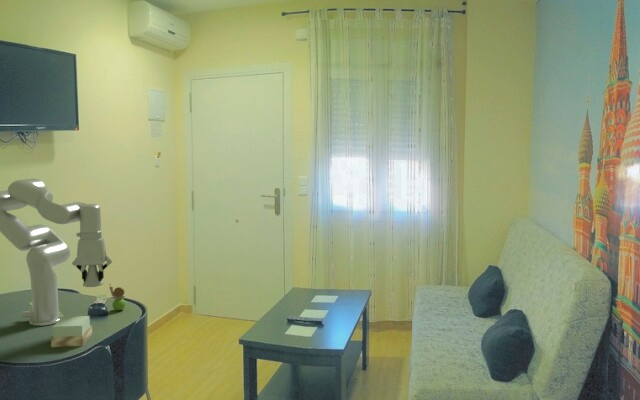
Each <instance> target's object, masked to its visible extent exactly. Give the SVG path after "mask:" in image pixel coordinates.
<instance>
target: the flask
mask: <svg viewBox="0 0 640 400" xmlns="http://www.w3.org/2000/svg"><path fill="white" fill-rule="evenodd" d="M98 272H99V269H98V265H88V266H87V275H86V281H85V282H84V281H83V284H82V286H83V287H85V288H96V287H99V286H102V285H104V281H103V279H102V280H101V281H99V277H98Z"/></svg>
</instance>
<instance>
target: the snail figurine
mask: <svg viewBox="0 0 640 400" xmlns="http://www.w3.org/2000/svg"><path fill="white" fill-rule="evenodd" d="M108 285H109V290H110V293H111V296H112V297H113V298H114V300H113V301H112V308H113V309H114V310H115V311H118V312H119V311H123V310H124V309H125V307H126V301H125V299H124V298H125V290H124V288H122V287H121V286H120V287H119V286H118V287H116V288H114V287H113V286H112V284H111V283H109V284H108Z"/></svg>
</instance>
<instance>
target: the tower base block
mask: <svg viewBox="0 0 640 400" xmlns="http://www.w3.org/2000/svg"><path fill="white" fill-rule="evenodd" d="M92 335H93V325H91V324H90V326H89V328H88V329H87V330H86V332H85V333H84V334H83V336H73V337H53V335H52V336H51V337H50V343H51V344H50V346H51V348H58V347H59V348H62V347H63V348H64V347H84V345H85V344H86V343H87V342H88V341H89V339H90V338H91V337H92Z"/></svg>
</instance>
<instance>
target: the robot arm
mask: <svg viewBox="0 0 640 400" xmlns="http://www.w3.org/2000/svg"><path fill="white" fill-rule="evenodd" d="M53 199H54V196H53V193H52V191H51V190H48V189H47V187H46V184H45V183H44V182H43V181H42V180H41V179H39V178H26V179H18V180H15V181H12V182H11V183H10V184H9V185H8V187H7V190H1V191H0V233H1V235H2V236H3V237H5V238H6V239H7V240H8V242H10V243H11V244H12V245H13V246H14V248H16V249H17V250H19V251H21V252H22V251H23V252H24V251H26V252H27V251H28V252H27V253H26V257H25V258H26V259H25V260H26V264H27V267H28V271H29V279H30V290H31V305H32V307H31V310H30V311H29V310H23V311H22V316H23V318H29V319H28V323H29V325H31V326H33V327H34V326H35V327H42V326H49V325H50V326H51V325H53V324H54V325H55V324H56V323H57V322H58V320H59V319H60V318H61V317H64V314H63V313H60V309H59V308H60V307H59V306H60V305H59V295H58V294H59V291H58V290H59V289H58V277H57V273H56V272H55V271H54V269H53V267H55V266H57V265H60V264H63V263H65V262H67V261H68V260H69V258H70V256H71V249H70V247H69V245H68V244H67V243H66V242H65V241H64V240H63V238H61V237H60V236H59V235H58V234H57V233H55V231H54V230H53V229H52V228H51V227H49V226H47V225H45V224H34V225H27V224H26V223H24V222H23V221H22V220H21V219H20V218H19V217H17V216H16V215H14V214H12V213H10V211H14V210H15V211H16V210H21V209H22V208H25V207H27V206H29V207H32V208H33V209H37V212H38V214H39V215H40V217H41V218H43V219H45V220H46V221H50V222H52V223H54V224H58V225H67V224H68V225H69V224H72V223H76V222H79V228H80V232H76V237H78V238H80V239H78V240H77V241H78V242H77V250H76V258H75V259H74V260H73V261H72V263H71V264H72V265H73V266H74V267H75V268H77V269H78V270H79V271H80V272H81V280H83V283H84V282H85V281H86V275H87V272H88V269H86V268H87V267H88V266H89V265H96V266H97V268H98V277H99V281H101V280H102V281H103V279H104V270H105V269H106V268H108V267H109V266H110V265H111V264H112V263H113V261H112V260H111V258H110V257H109V256H108V255H107V252H106V251H107V250H106V249H107V248H106V244H105V239H104V238H103V236H102V220H101V217H102V216H101V212H102V211H101V207H100V205H99V204H98V203H97V204H96V203H86V202H80V201H77V202H76V201H75V202H69V203H64V204H58V203H55V202H53ZM105 262H106V263H105Z"/></svg>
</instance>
